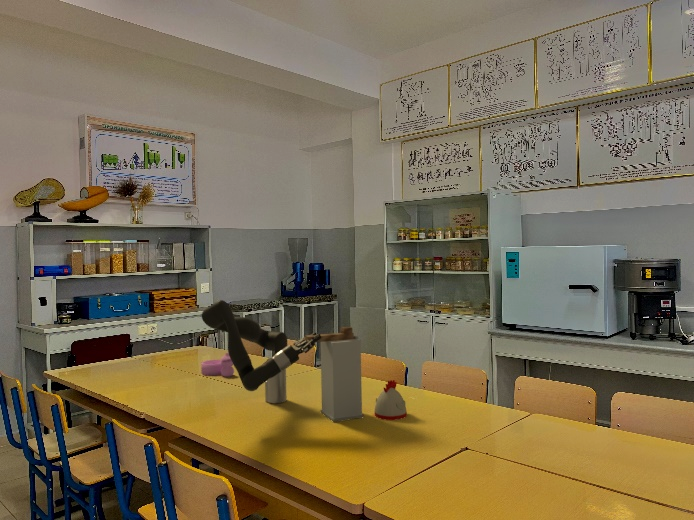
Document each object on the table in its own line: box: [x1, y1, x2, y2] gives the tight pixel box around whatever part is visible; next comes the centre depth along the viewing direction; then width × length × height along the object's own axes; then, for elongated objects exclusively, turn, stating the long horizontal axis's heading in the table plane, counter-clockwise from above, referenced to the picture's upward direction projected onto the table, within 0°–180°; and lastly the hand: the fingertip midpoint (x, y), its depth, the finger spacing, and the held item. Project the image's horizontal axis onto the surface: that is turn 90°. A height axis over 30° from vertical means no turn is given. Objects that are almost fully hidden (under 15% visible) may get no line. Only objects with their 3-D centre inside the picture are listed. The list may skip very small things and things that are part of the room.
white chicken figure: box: [374, 379, 408, 421], centre depth 233 cm, size 14×14×15 cm
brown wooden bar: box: [304, 326, 355, 343], centre depth 232 cm, size 21×4×5 cm, turn 113°
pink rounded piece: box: [200, 352, 235, 378], centre depth 320 cm, size 25×15×13 cm, turn 46°
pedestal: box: [319, 334, 365, 423], centre depth 234 cm, size 14×15×34 cm
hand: (318, 334), depth 230 cm, fingers closed on brown wooden bar, 4 cm apart
